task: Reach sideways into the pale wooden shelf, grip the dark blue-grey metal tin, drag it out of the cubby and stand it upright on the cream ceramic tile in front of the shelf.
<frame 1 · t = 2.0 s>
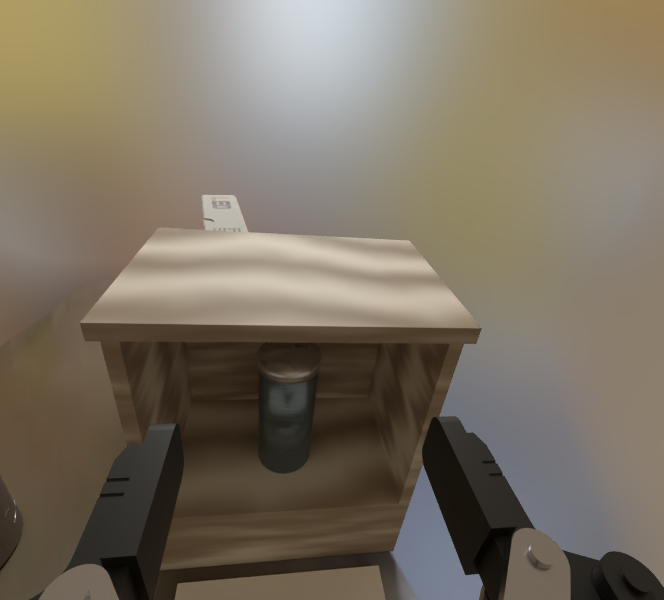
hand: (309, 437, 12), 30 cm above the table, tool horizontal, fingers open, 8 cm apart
tin: (284, 450, 36), point 8 cm above the table, touching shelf
packaging: (229, 329, 67), on the table
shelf: (281, 490, 41), on the table
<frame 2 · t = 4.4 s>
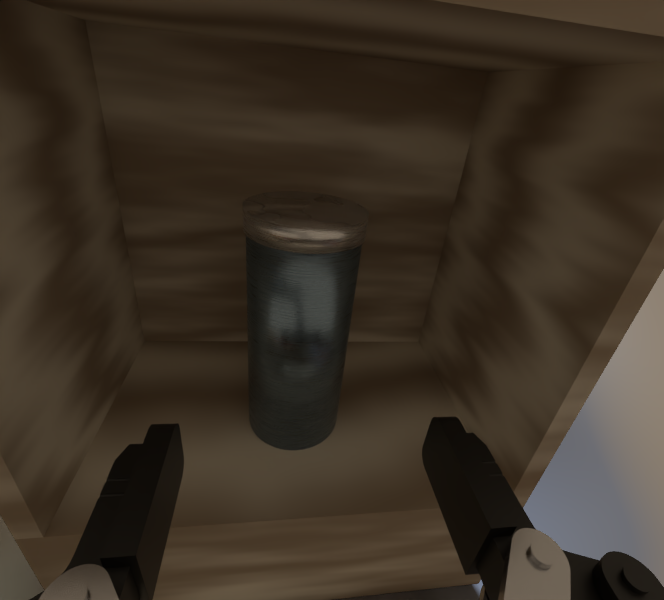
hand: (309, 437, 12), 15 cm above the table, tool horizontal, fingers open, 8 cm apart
tin: (293, 413, 21), point 8 cm above the table, touching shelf
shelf: (287, 484, 26), on the table
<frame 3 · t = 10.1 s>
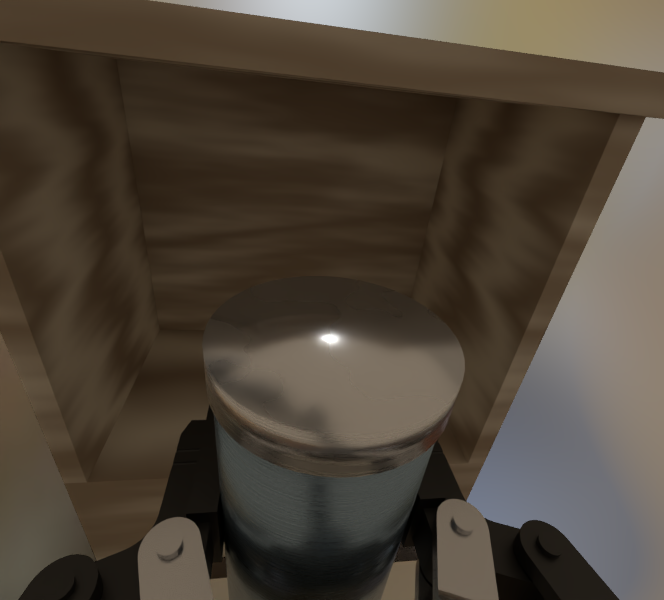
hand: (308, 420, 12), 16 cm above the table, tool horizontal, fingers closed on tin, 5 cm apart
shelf: (285, 456, 30), on the table
when the fingers open (9 cm above the table, at t = 13.0 s): tin drops 1 cm, resting on tile.
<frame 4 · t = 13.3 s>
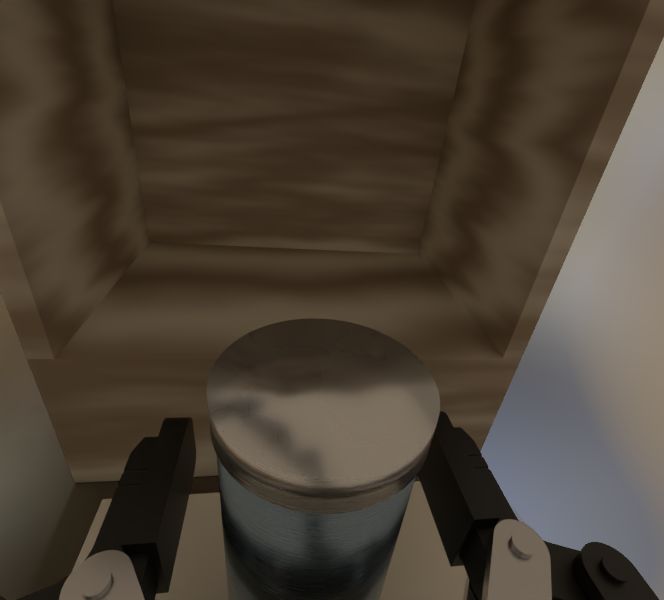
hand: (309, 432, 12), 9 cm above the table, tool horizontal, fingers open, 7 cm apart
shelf: (288, 384, 27), on the table
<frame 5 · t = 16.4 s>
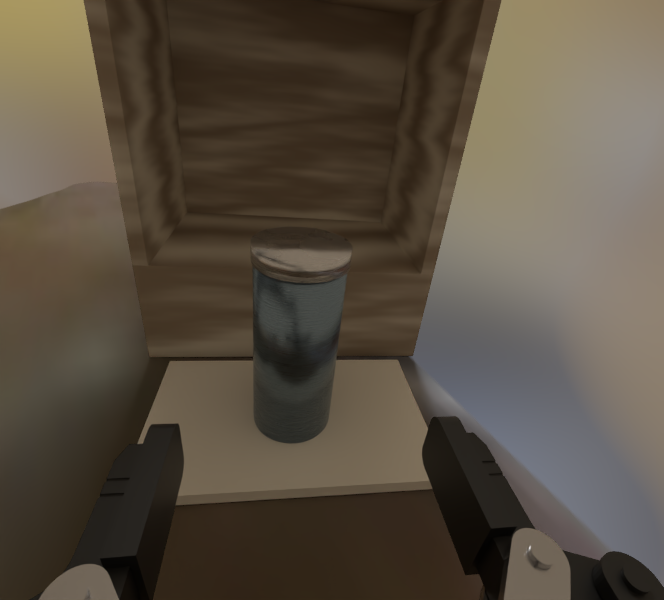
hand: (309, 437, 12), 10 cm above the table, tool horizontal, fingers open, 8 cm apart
tin: (291, 412, 25), point 1 cm above the table, touching tile
tile: (290, 420, 25), on the table
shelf: (286, 313, 37), on the table
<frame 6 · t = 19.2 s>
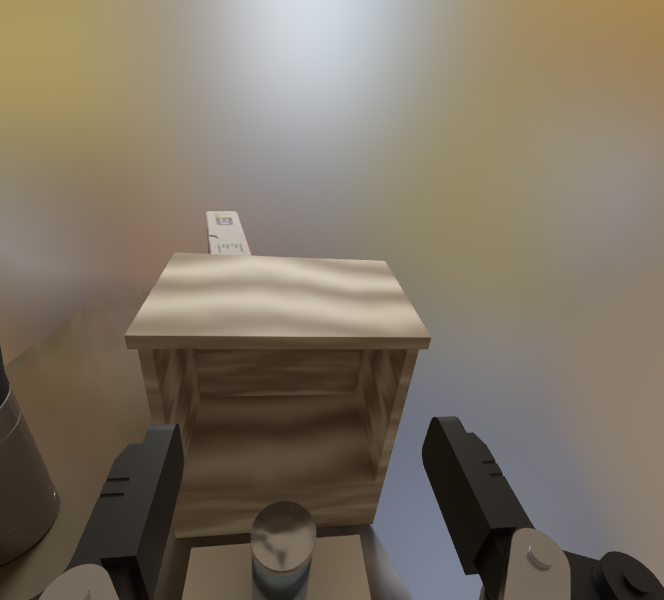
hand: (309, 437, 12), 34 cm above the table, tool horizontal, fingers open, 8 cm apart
packaging: (231, 333, 74), on the table
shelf: (278, 474, 48), on the table
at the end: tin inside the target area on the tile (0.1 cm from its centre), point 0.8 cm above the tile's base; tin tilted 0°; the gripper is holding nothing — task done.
